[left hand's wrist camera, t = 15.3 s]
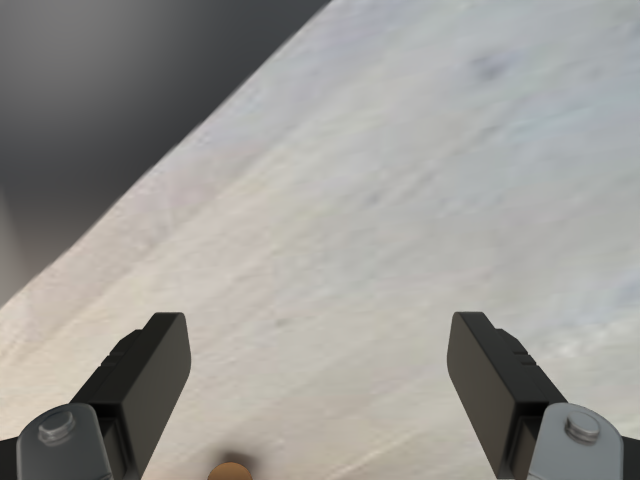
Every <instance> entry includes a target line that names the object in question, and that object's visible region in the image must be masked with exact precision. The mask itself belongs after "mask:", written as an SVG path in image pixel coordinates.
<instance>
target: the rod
mask: <svg viewBox="0 0 640 480" xmlns="http://www.w3.org/2000/svg"><path fill="white" fill-rule="evenodd" d="M207 480H252V477H251V474H250V473H249V471H248V470H247V469H246V468H245V467H244V466H242V465H240V464H238V463H233V462H228V463H223V464H221V465H219V466H217V467H216V468H214V469H213V470H212V472H211V473H210V475H209V476H208V479H207Z"/></svg>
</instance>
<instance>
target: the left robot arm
mask: <svg viewBox="0 0 640 480" xmlns="http://www.w3.org/2000/svg"><path fill="white" fill-rule="evenodd" d="M447 367H448V372H449V376H450V378H451V380H452V382H453V385H454V387H455V389H456V391H457V393H458V395H459V398H460V400H461V402H462V404H463V406H464V409H465V411H466V413H467V415H468V417H469V419H470V422H471V424H472V426H473V428H474V430H475V432H476V435H477V437H478V439H479V441H480V443H481V445H482V448H483V450H484V452H485V454H486V456H487V459H488V461H489V463H490V465H491V467H492V469H493V472H494V474H495V476H496V478H497V479H515V480H640V440H637V439H632V438H628V437H624V436H621V435H620V434H619V432H618V431H617V429H616V428H615V427H614V426H613V425H612V424H611V423H610V422H609V421H607V420H606V419H605V418H604V417H602V416H600V415H599V414H597V413H595V412H594V411H592V410H590V409H587V408H585V407H582V406H579V405H576V404H571V403H568V401H567V400H566V399H565V398H564V397H563V395H562V394H561V393H560V392H559V390H558V389H557V388H556V387H555V385H554V384H553V383H552V382H551V380H550V379H549V378H548V377H547V375H546V374H545V373H544V372H543V370H542V369H541V368H540V367H539V365H536V362H535V361H534V359H533V358H532V357H531V356H530V355H528V352H527V351H526V349H525V348H524V347H523V346H522V344H521V343H520V342H519V341H518V339H516V338H515V337H513V336H512V335H510V334H509V333H507V332H506V331H504V330H503V329H495V328H494V326H493V325H492V324H491V322H490V321H489V320H488V318H487V317H486V316H485V314H484V313H483V312H455V313H454V315H453V318H452V324H451V331H450V338H449V345H448V352H447ZM190 368H191V352H190V345H189V339H188V332H187V325H186V319H185V316H184V314H183V313H181V312H157V313H155V314H154V315H153V316H152V317H151V319H150V320H149V321H148V323H147V324H146V325H145V327H144V328H143V329H142V330H134V331H133V332H132V333H130V334H129V335H127V336H126V337H124V338H123V339H121V340H120V341H119V342H118V343H117V345H116V346H115V347H114V348H113V349H112V351H111V352H110V355H109V356H107V357H106V358H105V359H104V361H103V362H102V363H101V366H99V367H98V368H97V369H96V370H95V372H94V373H93V374H92V375H91V377H90V378H89V379H88V380H87V381H86V383H85V384H84V385H83V386H82V388H81V389H80V390H79V391H78V393H77V394H76V395H75V396H74V397H73V399H72V400H71V401H70V402H69V404H64V405H61V406H58V407H55V408H53V409H50V410H48V411H46V412H45V413H43V414H41V415H40V416H38V417H36V418H35V419H34V420H33V421H31V422H30V423H29V424H28V425H27V426H26V427H25V428H24V429H23V431H22V432H21V434H20V435H19V436H18V437H14V438H10V439H6V440H2V441H0V480H141V478H142V476H143V473H144V471H145V469H146V467H147V465H148V463H149V461H150V458H151V456H152V454H153V452H154V450H155V448H156V446H157V443H158V441H159V439H160V437H161V435H162V433H163V430H164V428H165V426H166V424H167V422H168V420H169V418H170V415H171V413H172V411H173V409H174V407H175V405H176V403H177V400H178V398H179V396H180V394H181V392H182V390H183V387H184V385H185V383H186V381H187V379H188V376H189V373H190Z"/></svg>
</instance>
